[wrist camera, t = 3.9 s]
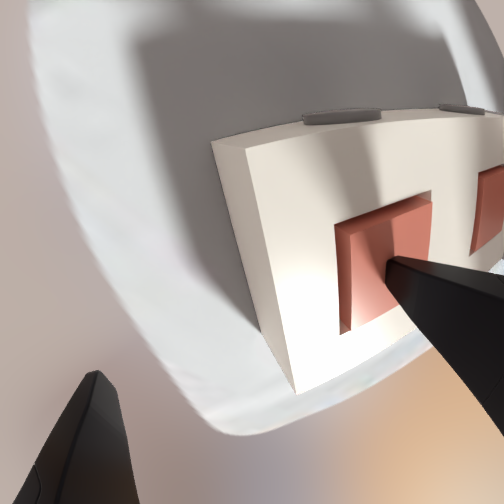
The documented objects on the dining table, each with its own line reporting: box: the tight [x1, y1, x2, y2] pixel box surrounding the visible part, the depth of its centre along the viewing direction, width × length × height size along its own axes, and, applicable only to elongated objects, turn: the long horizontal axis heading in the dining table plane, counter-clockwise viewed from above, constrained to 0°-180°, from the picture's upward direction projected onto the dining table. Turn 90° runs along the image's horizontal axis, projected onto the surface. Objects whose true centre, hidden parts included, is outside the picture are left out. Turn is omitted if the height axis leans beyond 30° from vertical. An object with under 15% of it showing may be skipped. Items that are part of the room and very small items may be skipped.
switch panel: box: [211, 104, 504, 395], centre depth 11 cm, size 17×9×4 cm, turn 101°
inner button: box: [470, 165, 504, 251], centre depth 11 cm, size 4×4×2 cm
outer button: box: [334, 195, 433, 331], centre depth 9 cm, size 4×4×2 cm
